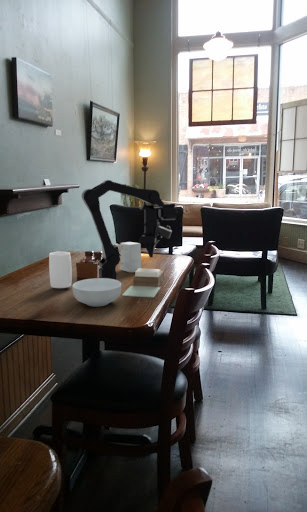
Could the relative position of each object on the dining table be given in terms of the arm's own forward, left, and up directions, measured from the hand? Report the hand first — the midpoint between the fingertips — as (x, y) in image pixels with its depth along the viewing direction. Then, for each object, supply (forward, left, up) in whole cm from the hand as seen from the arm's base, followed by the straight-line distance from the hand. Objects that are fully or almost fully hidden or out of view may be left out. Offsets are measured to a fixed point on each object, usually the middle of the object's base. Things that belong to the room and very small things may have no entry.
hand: (151, 257), depth 178 cm
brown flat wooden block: (-3, -4, -10) cm, 11 cm away
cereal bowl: (-33, -19, -10) cm, 40 cm away
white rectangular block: (-5, -6, -6) cm, 10 cm away
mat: (-13, -14, -10) cm, 21 cm away
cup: (-37, +7, -10) cm, 39 cm away
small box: (+2, +22, -10) cm, 24 cm away
